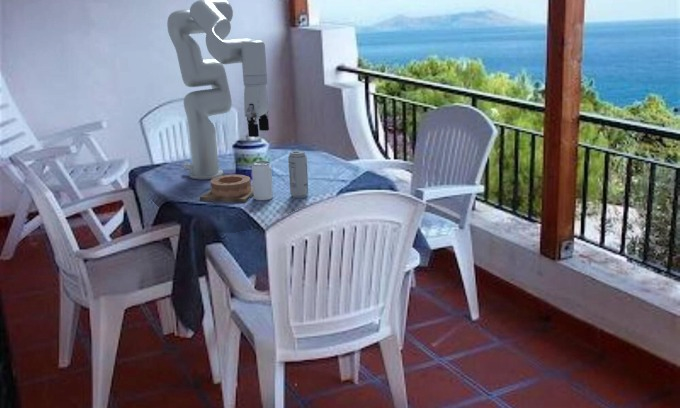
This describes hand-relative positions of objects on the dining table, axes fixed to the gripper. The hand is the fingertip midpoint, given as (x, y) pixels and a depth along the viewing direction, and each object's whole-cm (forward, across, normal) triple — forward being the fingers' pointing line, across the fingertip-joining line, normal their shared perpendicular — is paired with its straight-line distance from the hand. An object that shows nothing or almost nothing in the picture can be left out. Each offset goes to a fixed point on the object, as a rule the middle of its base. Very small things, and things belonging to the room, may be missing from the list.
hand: (259, 133), depth 237 cm
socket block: (+22, -2, -12) cm, 25 cm away
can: (+22, 0, 0) cm, 22 cm away
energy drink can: (+22, -4, +11) cm, 25 cm away
